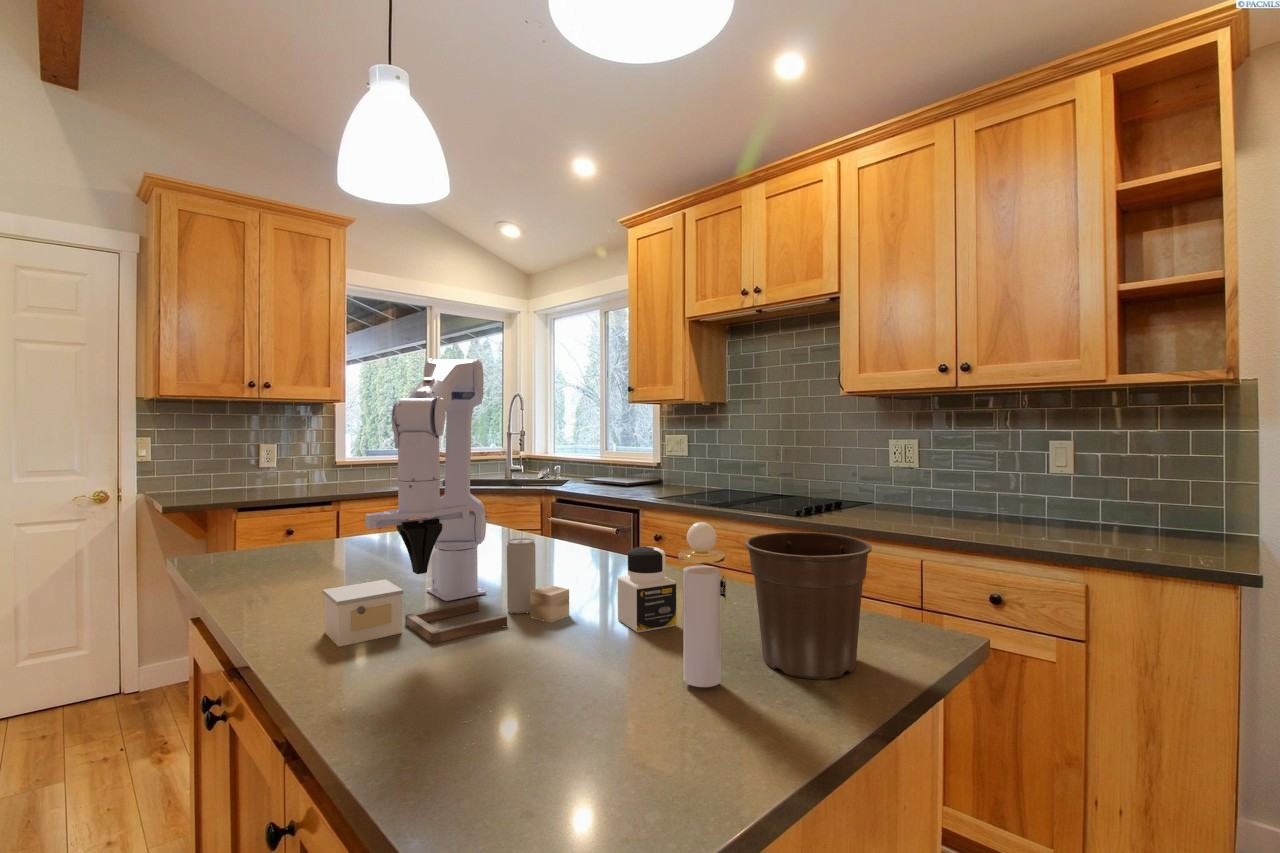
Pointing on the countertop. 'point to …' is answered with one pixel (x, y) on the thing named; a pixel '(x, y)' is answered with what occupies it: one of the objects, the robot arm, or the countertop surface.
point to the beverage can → (520, 574)
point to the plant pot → (809, 600)
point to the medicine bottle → (646, 592)
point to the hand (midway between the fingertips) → (419, 572)
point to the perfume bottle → (702, 608)
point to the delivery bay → (434, 636)
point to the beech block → (549, 603)
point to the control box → (362, 612)
